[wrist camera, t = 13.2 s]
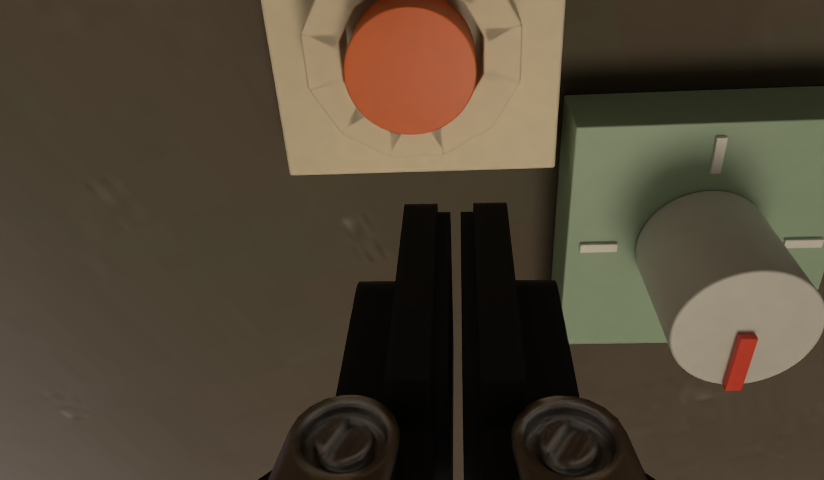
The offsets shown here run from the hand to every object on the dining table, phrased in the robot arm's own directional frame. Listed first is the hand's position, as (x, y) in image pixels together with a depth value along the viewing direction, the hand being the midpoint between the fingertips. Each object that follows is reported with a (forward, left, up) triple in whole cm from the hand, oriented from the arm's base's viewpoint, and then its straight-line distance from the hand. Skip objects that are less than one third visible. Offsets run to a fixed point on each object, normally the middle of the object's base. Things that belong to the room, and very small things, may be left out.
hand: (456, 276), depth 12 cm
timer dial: (-9, +8, -13) cm, 18 cm away
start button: (+1, 0, -12) cm, 12 cm away
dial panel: (-9, +8, -16) cm, 20 cm away
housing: (+1, 0, -16) cm, 16 cm away
